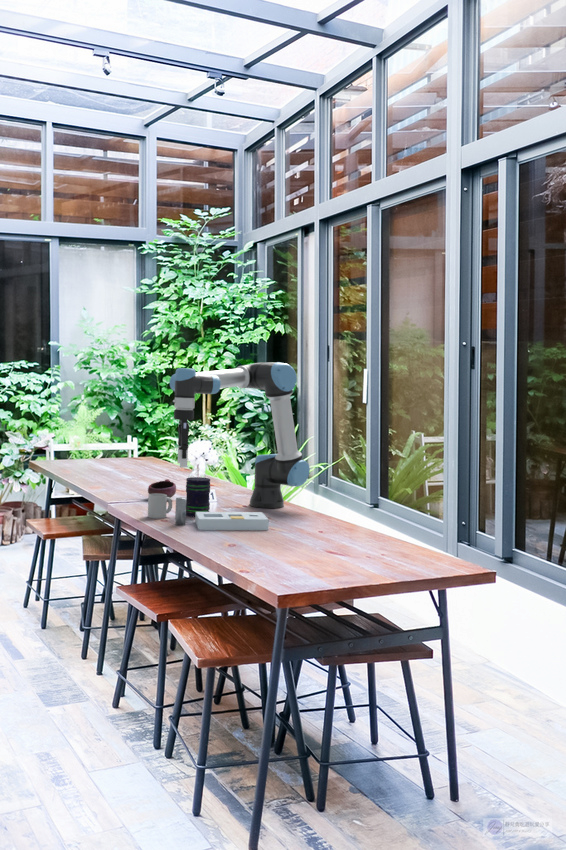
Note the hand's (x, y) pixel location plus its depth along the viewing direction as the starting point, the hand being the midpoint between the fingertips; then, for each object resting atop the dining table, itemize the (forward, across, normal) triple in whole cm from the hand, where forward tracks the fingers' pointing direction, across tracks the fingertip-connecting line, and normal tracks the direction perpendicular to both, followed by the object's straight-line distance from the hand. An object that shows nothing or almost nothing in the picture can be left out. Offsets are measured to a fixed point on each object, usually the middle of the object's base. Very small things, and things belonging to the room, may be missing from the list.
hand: (182, 465), depth 307 cm
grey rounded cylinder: (+22, 0, 0) cm, 23 cm away
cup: (+23, -16, -7) cm, 29 cm away
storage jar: (+23, -20, +8) cm, 31 cm away
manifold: (+22, +3, +19) cm, 30 cm away
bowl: (+23, -63, -5) cm, 67 cm away
